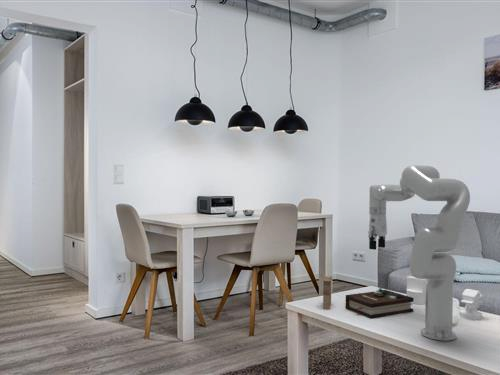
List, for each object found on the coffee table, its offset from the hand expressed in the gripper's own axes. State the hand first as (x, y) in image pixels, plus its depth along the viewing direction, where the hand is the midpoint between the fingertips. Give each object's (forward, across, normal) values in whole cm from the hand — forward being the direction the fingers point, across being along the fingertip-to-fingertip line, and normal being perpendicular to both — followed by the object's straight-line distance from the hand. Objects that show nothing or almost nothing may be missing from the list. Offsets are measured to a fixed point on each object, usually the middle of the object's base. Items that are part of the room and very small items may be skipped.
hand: (377, 248), depth 206 cm
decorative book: (+29, -3, -2) cm, 29 cm away
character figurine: (+28, +14, -37) cm, 49 cm away
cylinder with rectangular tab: (+28, +24, -10) cm, 38 cm away
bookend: (+28, -13, +19) cm, 36 cm away
